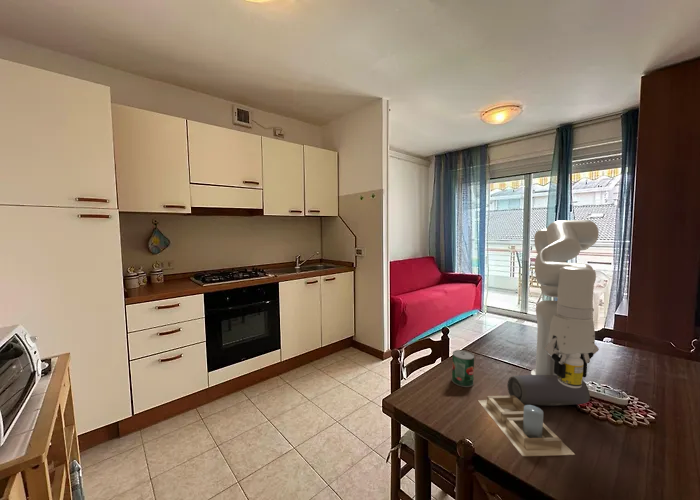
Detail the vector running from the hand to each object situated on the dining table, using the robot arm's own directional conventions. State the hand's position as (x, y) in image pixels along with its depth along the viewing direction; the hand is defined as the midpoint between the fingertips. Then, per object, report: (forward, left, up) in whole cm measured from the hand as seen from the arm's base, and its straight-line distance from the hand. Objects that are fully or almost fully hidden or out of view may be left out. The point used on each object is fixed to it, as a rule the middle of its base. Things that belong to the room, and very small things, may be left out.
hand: (569, 374), depth 79 cm
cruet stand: (+10, -5, -19) cm, 22 cm away
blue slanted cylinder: (+10, 0, -18) cm, 20 cm away
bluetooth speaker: (-6, -16, -19) cm, 25 cm away
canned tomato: (+16, -31, -19) cm, 40 cm away
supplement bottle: (0, 0, -3) cm, 3 cm away
